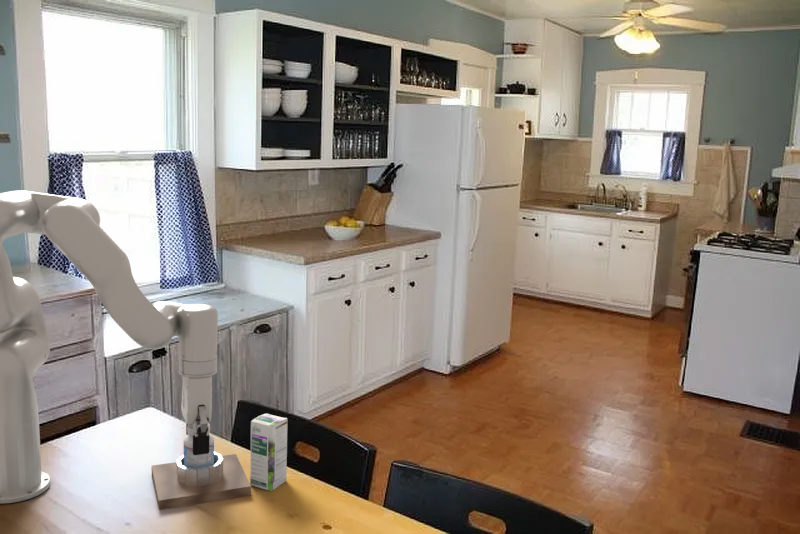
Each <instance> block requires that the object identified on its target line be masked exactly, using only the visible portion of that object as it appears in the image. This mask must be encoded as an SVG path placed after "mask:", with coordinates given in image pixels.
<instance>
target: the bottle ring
mask: <svg viewBox="0 0 800 534" xmlns="http://www.w3.org/2000/svg"><path fill="white" fill-rule="evenodd" d="M222 456H223V455H222V454H221V453H219V452H216V451H214V465H212V466H209V467H205V468H198V469H197V468H188V467H185V466H184V454H182V455H181V456H179V457H178V458H177V459H176V460H175V462H176V470H177V480H178V482H180V483H182V484H184V485H187V486H204V485H209V484H212V483H214V482H216V481H219V480H220V479H221V477H222V476H223V458H222Z"/></svg>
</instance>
